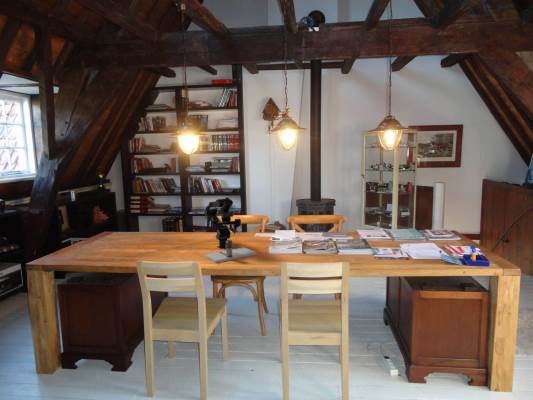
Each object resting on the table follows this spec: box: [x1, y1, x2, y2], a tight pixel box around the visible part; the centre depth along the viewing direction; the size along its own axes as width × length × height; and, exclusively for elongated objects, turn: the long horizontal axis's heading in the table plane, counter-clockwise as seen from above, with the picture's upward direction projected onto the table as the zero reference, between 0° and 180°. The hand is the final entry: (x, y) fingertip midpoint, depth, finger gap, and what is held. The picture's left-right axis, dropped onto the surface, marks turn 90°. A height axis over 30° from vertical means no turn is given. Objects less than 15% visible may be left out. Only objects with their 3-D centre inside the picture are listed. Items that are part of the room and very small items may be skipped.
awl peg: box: [225, 239, 233, 257], centre depth 240 cm, size 4×4×10 cm
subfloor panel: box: [203, 246, 258, 264], centre depth 248 cm, size 16×29×2 cm, turn 123°
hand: (227, 234), depth 250 cm, fingers open, 9 cm apart
